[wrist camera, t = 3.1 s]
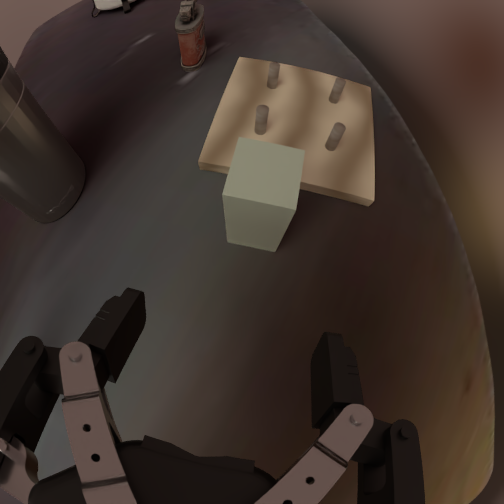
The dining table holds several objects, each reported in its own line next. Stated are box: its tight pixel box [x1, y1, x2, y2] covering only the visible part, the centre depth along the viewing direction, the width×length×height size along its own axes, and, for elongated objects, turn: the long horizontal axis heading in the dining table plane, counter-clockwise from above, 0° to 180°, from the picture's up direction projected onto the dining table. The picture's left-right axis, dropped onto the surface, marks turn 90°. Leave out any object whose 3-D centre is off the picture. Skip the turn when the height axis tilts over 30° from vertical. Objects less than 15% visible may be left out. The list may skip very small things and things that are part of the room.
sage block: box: [222, 137, 305, 252], centre depth 22 cm, size 4×4×10 cm
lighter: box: [175, 0, 207, 72], centre depth 29 cm, size 8×3×10 cm, turn 179°
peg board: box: [198, 57, 375, 207], centre depth 28 cm, size 18×18×5 cm
